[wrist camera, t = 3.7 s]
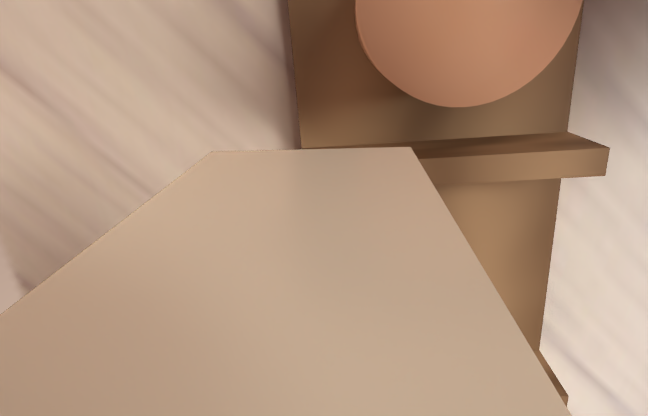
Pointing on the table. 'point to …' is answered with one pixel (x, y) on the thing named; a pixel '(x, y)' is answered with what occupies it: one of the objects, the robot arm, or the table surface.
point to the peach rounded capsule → (462, 44)
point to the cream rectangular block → (276, 303)
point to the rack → (456, 149)
